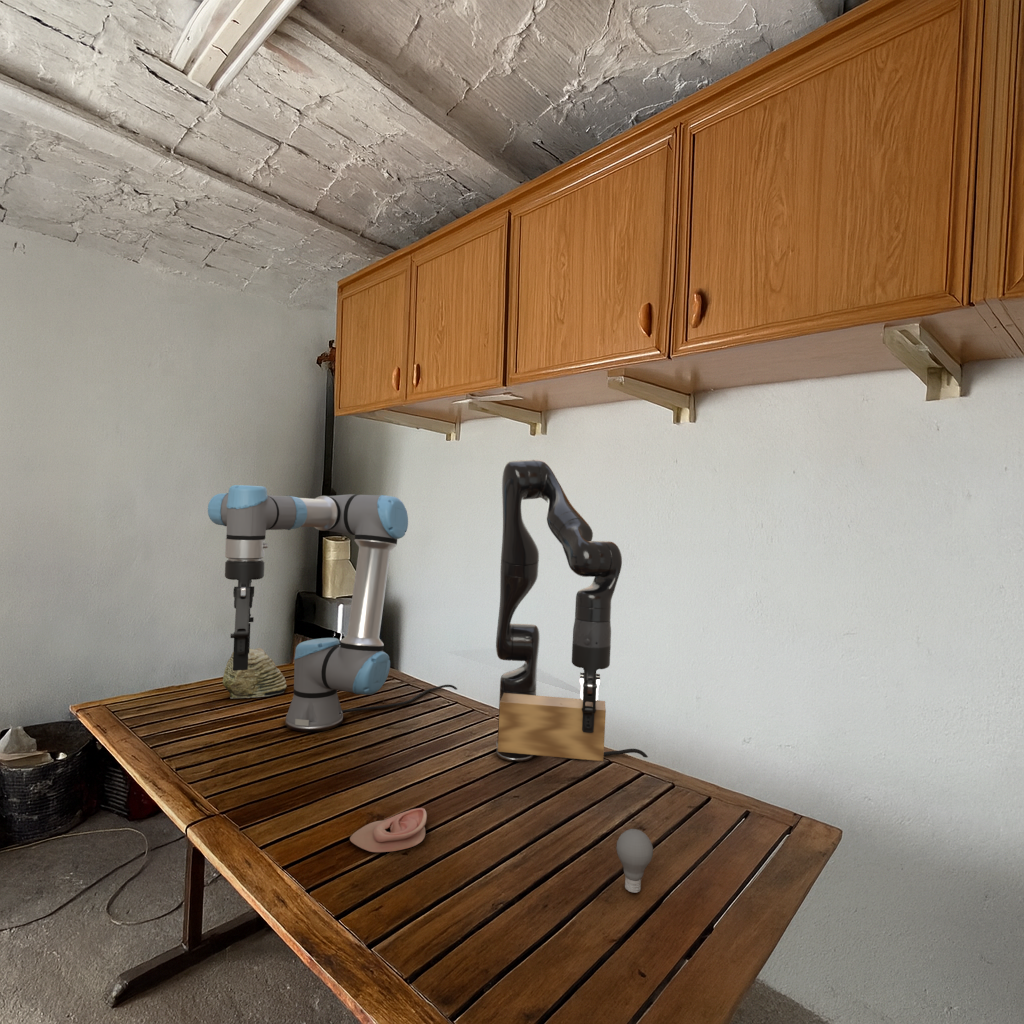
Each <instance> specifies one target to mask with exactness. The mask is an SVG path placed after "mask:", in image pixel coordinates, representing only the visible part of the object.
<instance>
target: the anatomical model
mask: <svg viewBox="0 0 1024 1024" xmlns="http://www.w3.org/2000/svg"><path fill="white" fill-rule="evenodd" d="M427 814H428V813H427V811H426V809H425V808H424V807H417V808H412V809H409V810H406V811H403V812H401V813H397V814H396V815H393V816H390V817H388V818H386V819H384V820H377V821H373V822H370V823H368V824H365V825H364V826H362V827H360V828H359V829H358V830H355V832H353V834H351V835H350V837H349V841H350V842H351V843H352V844H353V845H355V846H356V847H358V848H360V849H362V850H365V851H366V852H370V853H386V852H387V853H388V852H389V853H390V852H396V851H403V850H406V849H409V848H412V847H415V846H417V845H419V844H421V843H422V842H423V841H424V840H425V837H426V827H425V826H426V824H427V820H428V819H427V817H428V815H427Z"/></svg>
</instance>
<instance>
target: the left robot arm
mask: <svg viewBox="0 0 1024 1024" xmlns="http://www.w3.org/2000/svg"><path fill="white" fill-rule="evenodd" d="M207 515H208V518H209V519H210V521H211V522H212V523H214V524H215V525H218V526H223V527H226V536H225V537H226V538H225V549H224V550H225V551H224V553H225V554H224V556H225V558H226V559H227V560H226V561H225V563H224V564H225V565H224V577H225V579H227V580H232V581H236V580H237V586H234V587H233V598H234V599H233V608H234V609H235V617H234V632H233V633H230V637H229V638H230V639H233V651H232V653H233V671H235V670H248V653H249V649H251V647H250V644H251V623H254V621H255V620H254V619H255V618H254V617H253V616H252V614H251V609H252V608H253V601H254V597H255V586H252V583H253V581H256V580H261V579H263V578H265V577H264V576H265V562H264V560H262V559H264V558H265V551H266V550H265V549H268V548H269V545H268V543H265V542H266V536H267V535H266V533H267V531H269V530H271V531H277V530H282V531H283V530H284V531H285V530H286V531H291V530H295V529H299V528H310V527H311V528H314V529H316V530H318V531H322V532H323V531H325V532H326V531H327V532H333V533H339V534H344V535H351V536H354V543H355V544H356V545H357V547H358V553H357V560H356V569H355V575H354V583H353V590H352V596H351V597H352V598H351V604H350V612H349V619H348V627H347V634H346V635H345V636H344V637H343V638H342V639H341V640H339V638H337V637H321V638H313V639H307V640H304V641H302V642H299V643H298V644H297V645H296V647H295V652H294V653H295V654H294V657H293V660H294V661H293V662H294V668H293V669H294V670H293V695H292V696H293V697H292V699H291V702H290V704H289V708H288V711H287V713H286V715H285V726H286V728H287V729H289V730H291V731H294V732H295V731H296V732H301V733H316V732H325V731H329V730H332V729H335V728H337V727H339V726H340V725H342V723H343V722H344V713H351V712H353V713H354V712H361V711H371V710H379V709H386V708H392V707H398V706H402V705H406V704H407V705H408V704H410V703H412V702H413V701H415V700H418V699H419V698H420V697H423V696H424V695H425V694H427V693H429V692H433V691H437V690H440V689H445V688H452V689H454V690H458V687H456V686H455V685H453V684H442V685H438V686H436V687H432V688H428V689H426V690H424V691H422V692H421V693H418V694H417V695H415V696H414V697H412V698H411V699H408V700H405V701H402V702H401V701H400V702H396V703H390V704H385V705H376V706H374V705H373V706H367V707H356V708H355V707H354V708H348V709H346V708H345V709H342V706H341V702H340V699H339V695H338V691H340V692H347V693H352V694H355V695H358V696H359V695H366V696H370V695H374V694H376V693H377V692H379V691H380V690H381V689H382V687H383V685H384V684H385V683H386V681H387V679H388V676H389V674H390V670H391V660H390V656H389V654H388V653H386V652H385V651H384V649H385V647H384V646H385V645H384V642H383V640H382V639H380V634H381V628H382V627H381V626H382V618H383V610H384V605H385V604H384V603H385V595H386V589H387V581H388V573H389V566H390V565H389V564H390V559H391V558H390V556H391V551H392V550H394V549H395V548H396V547H397V545H398V540H400V539H402V538H403V537H404V536H405V535H406V533H407V531H408V528H409V514H408V511H407V508H406V506H405V504H404V502H403V501H402V500H401V499H400V498H398V497H397V496H392V495H385V494H357V493H351V494H350V493H349V494H338V495H320V496H319V495H318V496H317V497H315V498H308V497H297V496H292V495H271V494H268V489H267V487H265V485H264V486H263V485H245V484H244V485H242V484H241V485H240V484H235V485H231V486H230V487H229V488H228V492H224V493H221V492H220V493H217V494H215V495H213V496H212V497H211V499H210V500H209V502H208V504H207ZM252 580H253V581H252Z"/></svg>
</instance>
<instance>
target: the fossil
mask: <svg viewBox="0 0 1024 1024" xmlns="http://www.w3.org/2000/svg"><path fill="white" fill-rule="evenodd" d="M222 676H223V677H222V685H223V687H224V688H225V690H226V691H228V693H229V698H230V699H250V698H264V697H271V696H275V695H281V694H284V693H285V691H286V689H287V687H288V686H287V680H286V678H285V676H284V674H283V673H282V672H281V669H279V668H278V667H277V665H276V663H275V662H274V660H273V659H272V658H271V657H270V656H269V655H268V654H267V653H266V652H265V650H264V649H263V648H260V647H258V648H250V649H249V653H248V670H235V671H233V652H232V653H231V656H230V657H229V659H228V660H227V663H226V666H225V668H224V671H223V675H222Z"/></svg>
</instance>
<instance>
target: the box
mask: <svg viewBox="0 0 1024 1024" xmlns="http://www.w3.org/2000/svg"><path fill="white" fill-rule="evenodd" d="M585 706H591V707H593V702H585ZM582 708H583V701H582V700H581V699H580V698H573V697H572V698H571V697H559V696H549V695H548V696H547V695H537V694H536V695H524V694H511V693H504V694H503V696H502V698H501V701H500V711H499V710H498V721H499V734H498V733H497V743H498V752H508V753H519V754H530V755H537V756H542V757H553V758H560V757H563V758H562V759H565V758H574V759H577V760H585V761H586V760H587V761H597V762H604V758H605V756H604V752H605V737H606V736H605V735H606V715H607V714H606V713H607V708H606V701H605V700H599V699H598V701H596V708H595V709H596V712H595V714H594V731H593V732H592V733H588V732H583V731H582V720H583V713H582ZM574 759H573V760H574Z"/></svg>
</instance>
